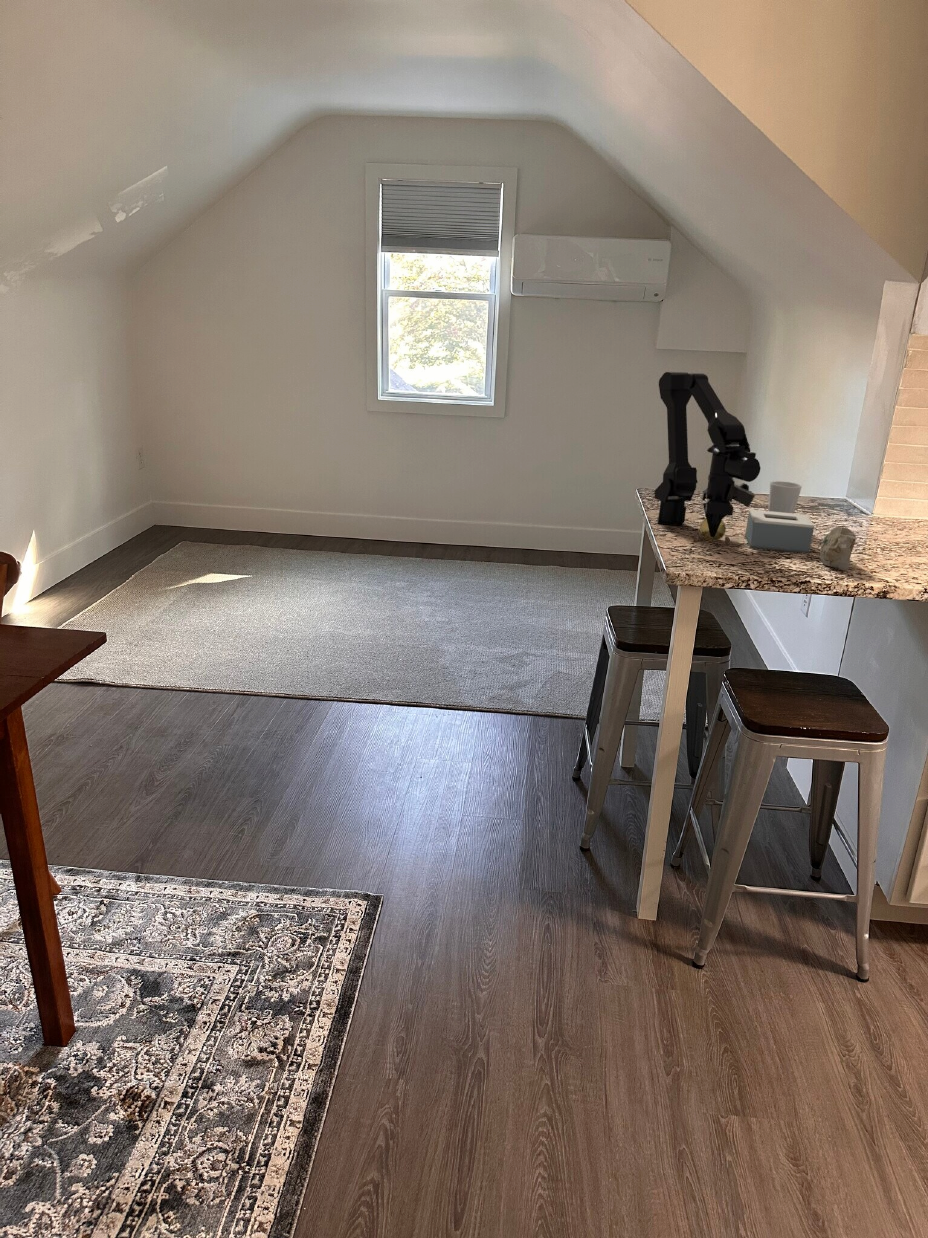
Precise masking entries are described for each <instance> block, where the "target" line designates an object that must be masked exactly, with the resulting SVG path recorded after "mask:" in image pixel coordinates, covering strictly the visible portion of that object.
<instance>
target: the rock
mask: <svg viewBox="0 0 928 1238" xmlns="http://www.w3.org/2000/svg"><path fill="white" fill-rule="evenodd" d="M856 542H857V538H856V534H855V533H854V532H853V531H852V530H851V529H850V528H847V527H843V526H836V527H833V528H832V529H831V530H830V531H829V532H828V533H827V534H826V535H825V536H824V538H823V540H822V542H821V544H820V548H819V551H820V552H819V557H820V561H821V562H822V564H823V565H825V566H828V567H830V568H834V569H835V568H836V570H837V569H839V570H838V571H840V570H843V571H848V570H849V568H850V566H851V556H852V553H853V550H854V546H855V544H856Z"/></svg>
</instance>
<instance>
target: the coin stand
mask: <svg viewBox="0 0 928 1238" xmlns="http://www.w3.org/2000/svg"><path fill="white" fill-rule="evenodd" d="M693 538H694V539H693V540H694V541H695V542H698V541H699V535H698V533H697V532H693ZM724 540H725V543H726V544H727V545H730V544H731V538H730V536H729V535H725V537H724Z"/></svg>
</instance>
